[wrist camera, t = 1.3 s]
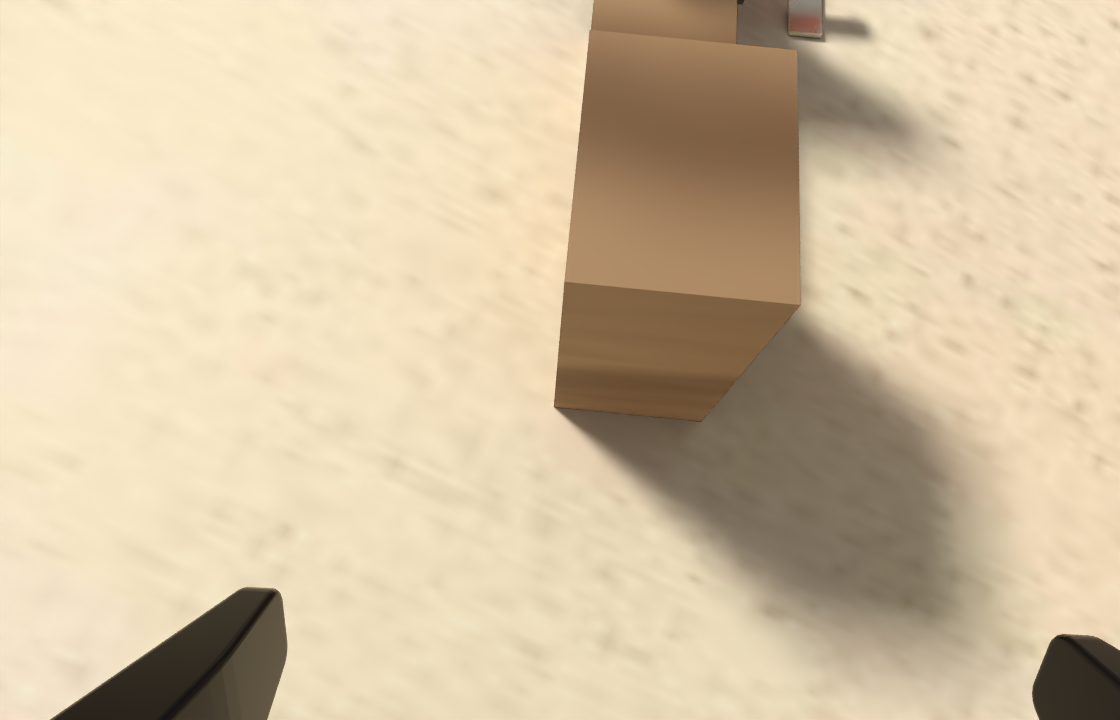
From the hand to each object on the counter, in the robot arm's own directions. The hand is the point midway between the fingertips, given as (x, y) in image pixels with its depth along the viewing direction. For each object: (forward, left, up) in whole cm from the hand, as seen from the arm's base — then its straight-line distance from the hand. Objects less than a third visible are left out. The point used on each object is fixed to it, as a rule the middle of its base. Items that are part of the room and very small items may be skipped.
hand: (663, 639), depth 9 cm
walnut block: (+9, -10, -13) cm, 18 cm away
